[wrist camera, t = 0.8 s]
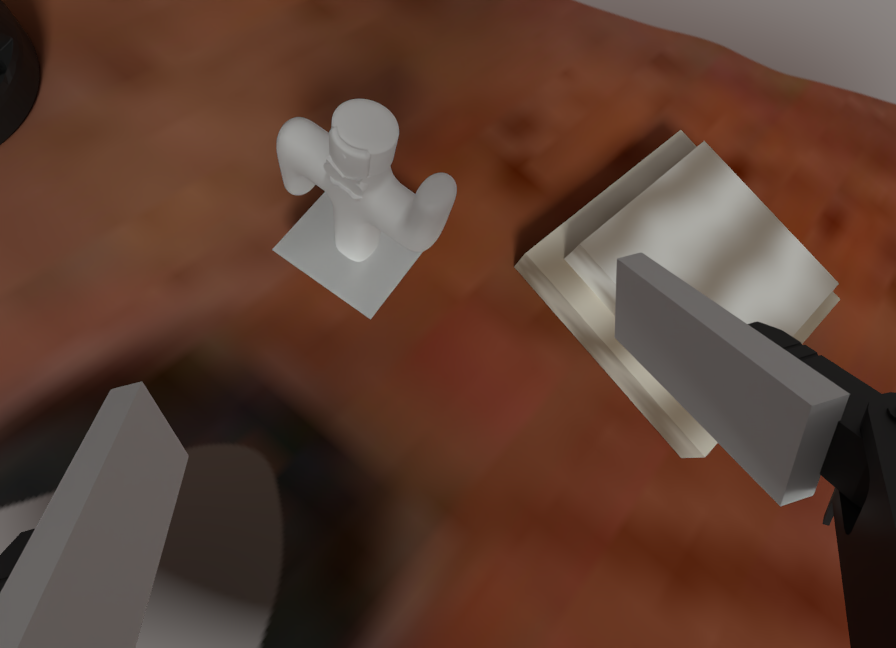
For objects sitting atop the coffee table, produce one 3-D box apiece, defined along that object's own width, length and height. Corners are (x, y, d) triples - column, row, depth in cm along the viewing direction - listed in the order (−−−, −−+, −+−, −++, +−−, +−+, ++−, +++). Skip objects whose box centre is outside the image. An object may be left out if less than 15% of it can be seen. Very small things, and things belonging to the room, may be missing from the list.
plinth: (514, 266, 37) (538, 237, 32) (662, 148, 43) (701, 108, 38) (681, 457, 35) (732, 456, 31) (811, 308, 41) (872, 288, 36)
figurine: (333, 188, 36) (323, 7, 22) (441, 264, 36) (502, 133, 22) (266, 262, 34) (206, 114, 19) (381, 343, 34) (406, 255, 19)
